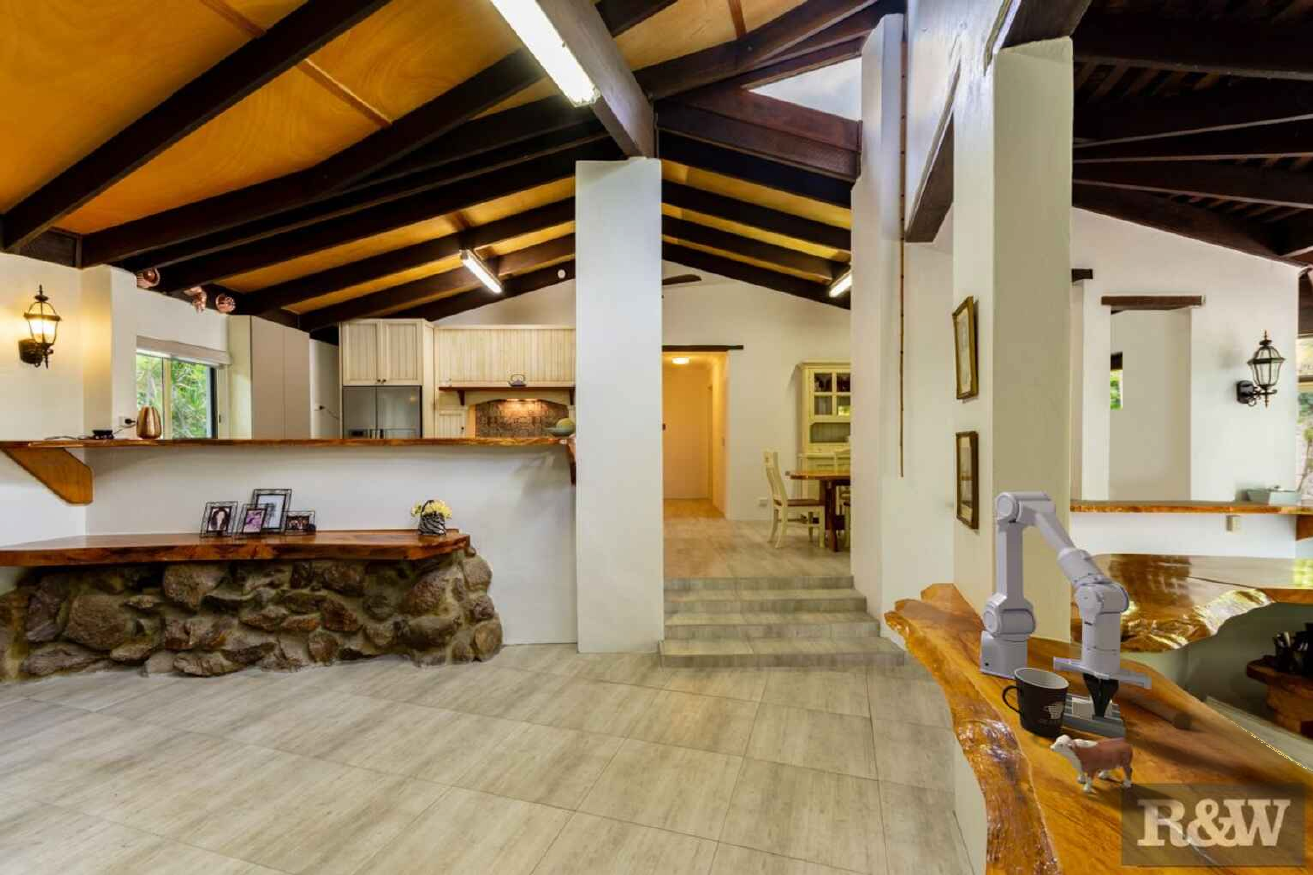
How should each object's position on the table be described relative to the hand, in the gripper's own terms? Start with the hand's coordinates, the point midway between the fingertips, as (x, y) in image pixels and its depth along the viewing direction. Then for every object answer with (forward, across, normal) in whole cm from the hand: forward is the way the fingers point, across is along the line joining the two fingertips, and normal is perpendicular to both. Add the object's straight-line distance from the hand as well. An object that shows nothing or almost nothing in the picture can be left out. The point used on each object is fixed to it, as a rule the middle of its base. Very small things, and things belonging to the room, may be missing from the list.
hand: (1099, 714), depth 105 cm
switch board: (+3, -1, +4) cm, 5 cm away
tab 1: (+2, -3, 0) cm, 3 cm away
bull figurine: (+3, -2, -21) cm, 21 cm away
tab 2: (+2, +1, +4) cm, 4 cm away
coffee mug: (+3, -11, -6) cm, 13 cm away
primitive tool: (+4, +8, +18) cm, 20 cm away
